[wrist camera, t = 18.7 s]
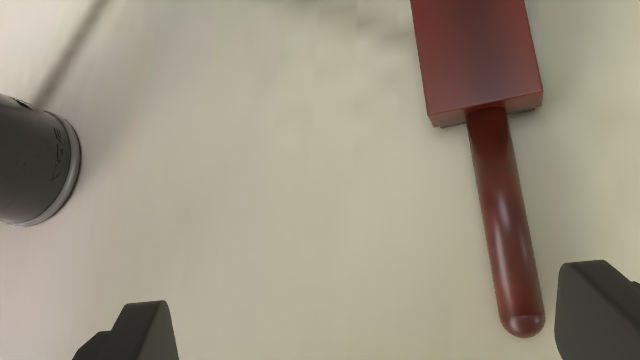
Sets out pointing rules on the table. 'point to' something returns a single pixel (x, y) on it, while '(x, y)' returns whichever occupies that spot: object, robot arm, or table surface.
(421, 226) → the table surface
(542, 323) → the shoe brush
